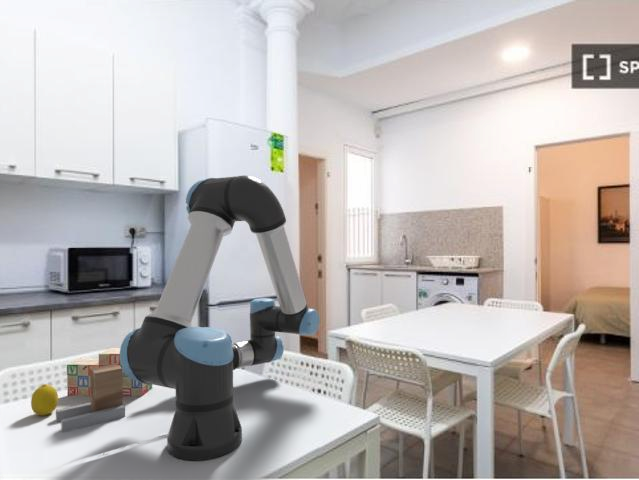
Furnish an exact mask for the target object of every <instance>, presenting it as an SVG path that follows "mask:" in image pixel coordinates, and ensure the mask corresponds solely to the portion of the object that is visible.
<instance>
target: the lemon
mask: <svg viewBox="0 0 639 480" xmlns="http://www.w3.org/2000/svg"><path fill="white" fill-rule="evenodd" d="M32 393H33V394H32V395H31V399H30V406H31V409H32V411H33V413H34V414H36V415H38V416H40V417H43V416H47V415H49V414H51V413H53V412H54V411H56V408H57V407H58V403H59V395H58V392H57V390H56V387H54V386H52V385H48V384H47V383H43V384H42V385H41V386H39V387H38V388H36V389H35V390H34V391H33V392H32Z"/></svg>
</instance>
